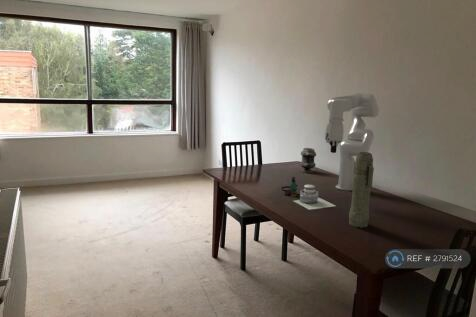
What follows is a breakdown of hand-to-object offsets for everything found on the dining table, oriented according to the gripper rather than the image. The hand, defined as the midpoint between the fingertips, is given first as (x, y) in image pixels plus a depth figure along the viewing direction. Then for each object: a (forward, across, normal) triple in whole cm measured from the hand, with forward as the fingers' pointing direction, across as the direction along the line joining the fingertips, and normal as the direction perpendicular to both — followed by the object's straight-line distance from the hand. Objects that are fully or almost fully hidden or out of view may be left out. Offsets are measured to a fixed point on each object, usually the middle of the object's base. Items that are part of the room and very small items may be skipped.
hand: (333, 152), depth 209 cm
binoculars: (+27, +21, -12) cm, 37 cm away
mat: (+27, +17, +8) cm, 33 cm away
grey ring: (+27, +18, +4) cm, 32 cm away
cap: (+23, +18, +4) cm, 29 cm away
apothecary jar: (+27, -25, -60) cm, 71 cm away
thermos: (+27, +15, +41) cm, 51 cm away
